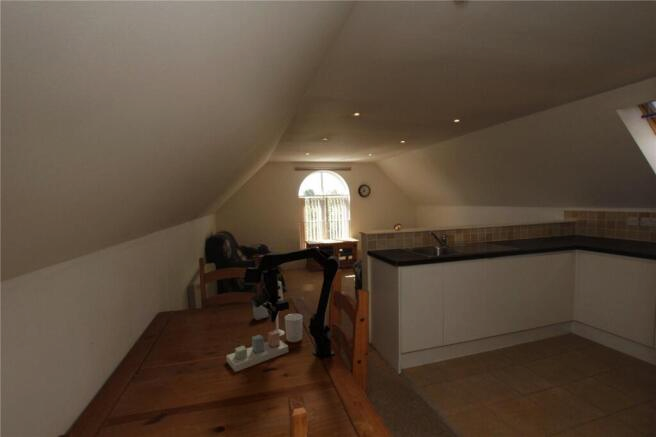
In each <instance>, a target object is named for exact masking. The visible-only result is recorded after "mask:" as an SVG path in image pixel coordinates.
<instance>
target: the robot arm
mask: <svg viewBox="0 0 656 437" xmlns="http://www.w3.org/2000/svg"><path fill="white" fill-rule="evenodd" d="M306 259H307V260H308V259H312V260H314V261H315V262H316V263H317V264H319V265H320V266H321V267H322V268H323V272H322V274H323V275H322V276H323V280H322V286H321V290H320V296H319V298H318V304H317V308H316V313H315V312H313V313H312V314H311V317H310V318H309V325H308V327H307V328H308V329H309V335H310V336H311V337H312V338H313V340H314V342H315V343H314V344H315V347H314V348H315V350H313V351H312V354H313V355H314V356H316V357H317V358H319V359H320V360H324V359H326V358H328V357H331V356H333V355H335V352H334V351H332V340H331V333H332V329H331V327H329V325H327V310H328V305H329V301H330V296H331V292H332V288H333V284H334V279H335V277H336V275H337V273H338V270H339V267H340V265H341V260H340V259H339V258H338V256H336V255H331V254H329V253H328V252H326V251H324V250H322V249H320V248H319V247H317V246H312V247H309V248H303V249H297V250H292V251H287V252H279V251H277V252H276V251H275V252H268V253H267V254H265V255H263V256H262V257H261V260H260V264H259V265H258V266H257V267H251V266H248V267H246V269H245V273H244V277H243V281H244V282H243V283H244V284H245V285H261V283H262V282H263V286H262V287H261V291H259V292H257V293H256V294H254V295H253V296H251V297H249V300H250V302H251V304H252V307H253V306H255V307H260V306H261V305H262V306H263V307H265V308H266V309H267V311H268V314H269V317H268V318H269V320H270V322H271V323H275V322H276V317H277V314H278V315H279V313H280V312H283V311H286V310H290V308H291V307H290V306H291V304H290V303H289V301H288V300H285V299H283V300H280V301H279V300H278V299H281V296H279V290H278V289H280V286H278V281H279V275H280V274H282V273H283V271H284V270H282V269H281V268H280V267H279V266H280V265H283V264H285V263H292V262H296V261H301V260H306ZM279 311H280V312H279ZM278 312H279V313H278Z"/></svg>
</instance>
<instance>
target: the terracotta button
mask: <svg viewBox="0 0 656 437" xmlns="http://www.w3.org/2000/svg"><path fill="white" fill-rule="evenodd" d="M267 337H268V338H267V340H268V341H267V342H268V344H269V345H270V346H272V347H274V346H277V345H280V340H281V338H280V337H281V336H280V334H279V332H278V331H276V329H274V330H270V331H268V332H267Z"/></svg>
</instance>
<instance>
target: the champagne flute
mask: <svg viewBox="0 0 656 437" xmlns="http://www.w3.org/2000/svg"><path fill="white" fill-rule="evenodd" d="M278 286H280V289H278V290H279V296H281V299H278V300H279V301H280V300H284V295H283V286H282V281H280V280H278ZM279 313H281V311H279V312H278V314H277V317H276V319H275V330H276V331H278V332H279V334H280V337H281V336H283V335H285V334H286V331H284V330H282V329H280V328H279Z"/></svg>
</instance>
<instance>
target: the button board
mask: <svg viewBox="0 0 656 437" xmlns="http://www.w3.org/2000/svg"><path fill="white" fill-rule="evenodd" d="M246 349H247V357H246V358H243V359H241V360H237V359H236V358H235V352H233V353H229V354H226V362H227V364H228V365H229V367H231V369H232V370H233V371H234V373H236V372H239V371H242V370H245V369H246V368H250V367H252V366H255V365H257V364H260V363H263V362H265V361H268V360H271V359H273V358H277V357H278V356H282V355H284V354H286V353H289V345H288V344H286V343H285V342H284V341H282V340H281V339H280V345H277V346H274V347H272V346H270V345H269V344H268V341H266V342H265V341H264V350H263V351H260V352H257V353H256V352H254V351H253V350H252V346H251V347H247V348H246Z"/></svg>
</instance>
